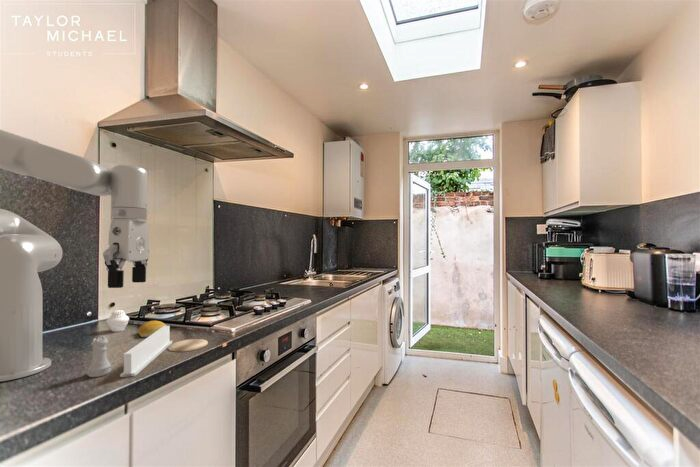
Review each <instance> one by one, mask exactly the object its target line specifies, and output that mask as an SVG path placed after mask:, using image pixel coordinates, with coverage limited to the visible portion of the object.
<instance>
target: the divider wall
mask: <svg viewBox="0 0 700 467" xmlns="http://www.w3.org/2000/svg"><path fill="white" fill-rule="evenodd" d="M170 328H171V326H170V325H167V326H163V327H162V328H160V329H159V330H158V331H156V332H155V333H153V334H152V335H150V336H149V337H145V339H143V340H142V341H140V342H139V343H137V344H136V345H135V346H133V347H132V348H130V349H129V350H127V351H126V352H124V353H123V371H122V372H121V373H120V374H119V378H128V377H136V376H137V375H138V374H140V372H142V370H144V369H145V368H146V367H147V366H149V364H151V363H152V362H153V361H154V360H155V359H156V358H157V357H158V356H159V355H160V354H161V353H163V352H164V351H165V350H166V349H167V348H168V347H169V346H170V345H171V344H173V340H171V339H170V338H171V336H170V331H171V330H170Z"/></svg>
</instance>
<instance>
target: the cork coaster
mask: <svg viewBox="0 0 700 467" xmlns="http://www.w3.org/2000/svg"><path fill="white" fill-rule="evenodd" d="M208 343H209V342H208V340H206V339H201V338H191V339H183V340H180V341H176V342H172V344H170V345H169V346H168V347H167V348H168V351H170V352H173V353H175V352H176V353H179V352H180V353H181V352H182V353H183V352H192V351H196V350H201V349H203V348H205V347H206V346H208Z"/></svg>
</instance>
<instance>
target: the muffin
mask: <svg viewBox="0 0 700 467" xmlns="http://www.w3.org/2000/svg"><path fill="white" fill-rule="evenodd" d="M129 321H130V317H129V316H128V315H127V314H126V313H125V311H124V310H122V309H117V310H114V311H113V310H112V312H111V315H110V316H109V317H108V318H107V319H106V324H107V325H108V327H109V329H110V330H111V332H114V333H118V332H122V331H124V330H125V329H126V327H127V326H128V323H129Z"/></svg>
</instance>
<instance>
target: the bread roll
mask: <svg viewBox="0 0 700 467" xmlns="http://www.w3.org/2000/svg"><path fill="white" fill-rule="evenodd" d="M163 326H168V324H165V323H164V322H163V321H160V320H149V321H146V322H144V323H143V324H142V325H140V327H138V330H137V332H138V334H139V336H140V337H141V338H147V337H149V336H150V335H152V334H153V333H155V332H156V331H158V330H159V329H160V328H162V327H163Z"/></svg>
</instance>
